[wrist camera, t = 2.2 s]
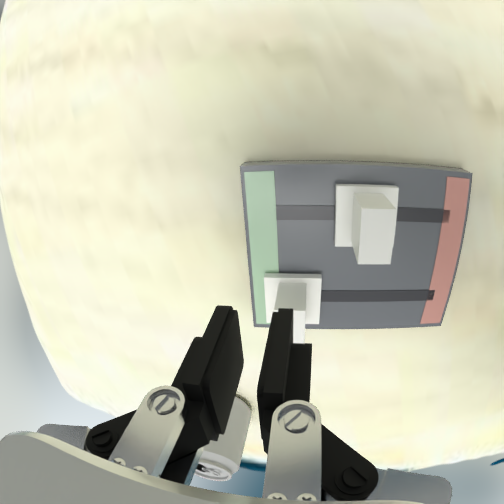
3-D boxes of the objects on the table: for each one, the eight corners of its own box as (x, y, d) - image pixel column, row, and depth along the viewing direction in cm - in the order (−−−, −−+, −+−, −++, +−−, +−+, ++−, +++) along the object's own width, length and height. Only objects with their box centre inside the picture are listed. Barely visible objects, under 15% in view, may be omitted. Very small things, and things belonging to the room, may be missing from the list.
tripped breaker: (396, 185, 22) (415, 202, 18) (391, 243, 24) (406, 270, 20) (335, 183, 23) (342, 200, 19) (334, 242, 25) (338, 270, 21)
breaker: (321, 273, 26) (322, 305, 22) (319, 319, 28) (319, 353, 24) (265, 273, 27) (256, 304, 23) (267, 317, 29) (260, 351, 25)
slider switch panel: (462, 168, 22) (472, 173, 20) (435, 314, 29) (440, 326, 27) (244, 162, 26) (239, 166, 24) (257, 315, 32) (253, 327, 30)
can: (198, 386, 40) (171, 455, 29) (250, 392, 39) (231, 467, 28) (208, 415, 43) (186, 477, 32) (254, 420, 42) (239, 487, 31)
